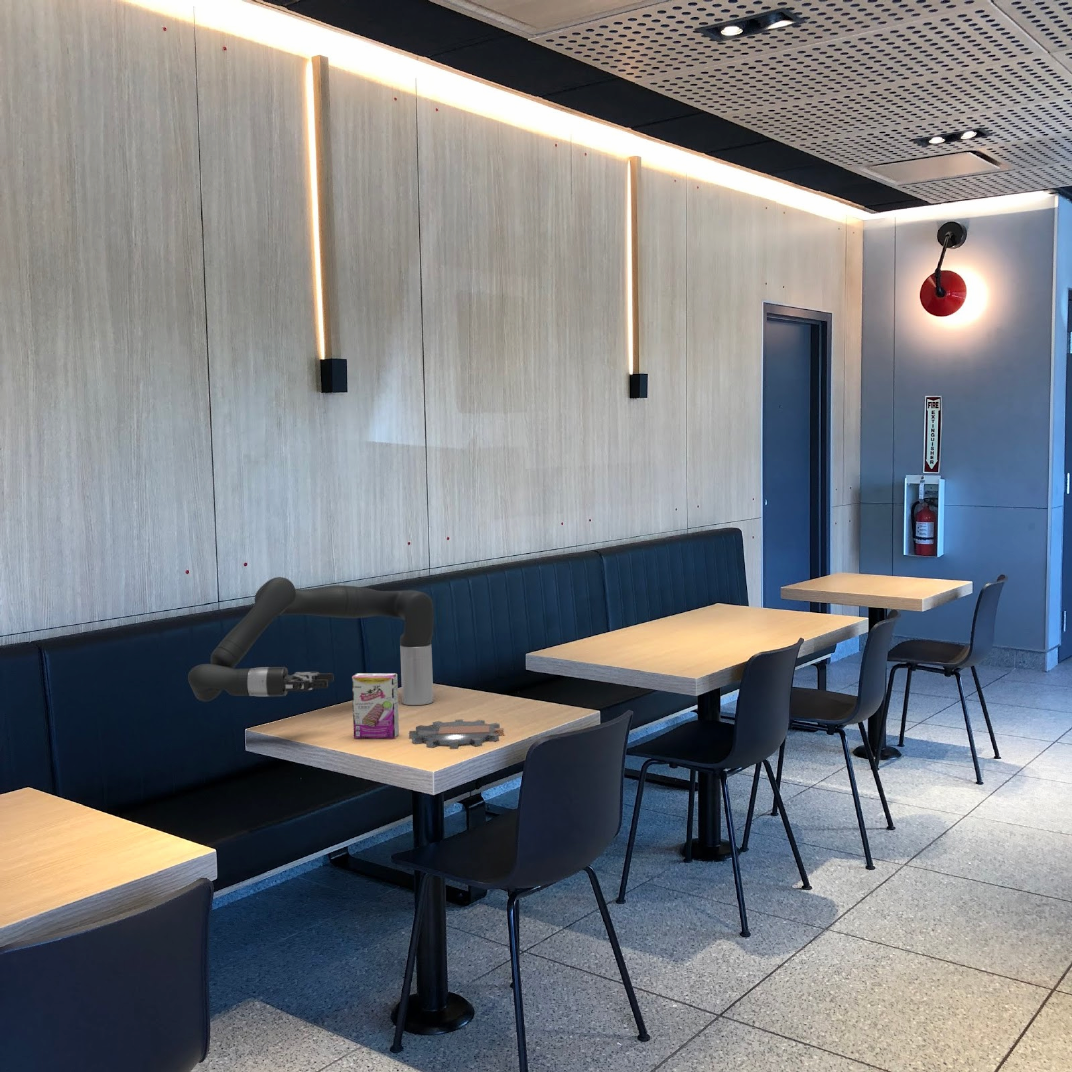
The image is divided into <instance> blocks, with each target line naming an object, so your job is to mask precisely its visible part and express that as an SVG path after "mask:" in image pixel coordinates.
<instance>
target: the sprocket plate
mask: <svg viewBox="0 0 1072 1072" xmlns="http://www.w3.org/2000/svg"><path fill="white" fill-rule="evenodd" d="M485 721H486V720H483V719H477V720H475V721H472V720H471V721H470V720H469V721H465V720H464V719H460V718H459V719H455V720H454V721H445V722H443V721H440V720H438V721H432V724H430V725H423V724H420V725H419V724H418V726H415V730H409V731H408V739H409V740H410V739H411V743H412V744H414V745H418V744H426V748H432V749H434V748H436V747H439V746H440V747H449V749H459V747H460V746H461V747H462V746H473V747H479V746H483V743H485V742H492V741H494V742H497V741H496V740H498V741H499V740H500V736H499V735H505V733H504V732H505V730H504V729H505V728H504V727H501V726H500V725H501V724H500V723H497V722H493V723H486V722H485ZM487 740H488V741H487ZM494 742H493V743H494Z"/></svg>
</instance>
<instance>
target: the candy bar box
mask: <svg viewBox="0 0 1072 1072" xmlns="http://www.w3.org/2000/svg"><path fill="white" fill-rule="evenodd" d="M351 683H352V684H351V685H352V686H351V687H352V692H351V693H352V717H353V718H352V719H353V722H352V723H353V724H352V725H353V739H396V738H397V737H398V735H399V734H400V726H399V722H400V721H399V693H398V691H399V690H398V689H399V688H398V687H399V686H398V684H399V683H398V674H397V673H367V672H365V673H361V672H360V673H355V674H354V675H352V676H351Z"/></svg>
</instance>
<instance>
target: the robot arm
mask: <svg viewBox="0 0 1072 1072" xmlns="http://www.w3.org/2000/svg"><path fill="white" fill-rule="evenodd" d="M287 615H288V616H289V615H308V616H320V617H329V618H343V619H344V618H345V619H360V618H361V619H362V618H370V617H387V618H389V617H390V618H394V619H400V620H404V629H403V630H404V632H403V634H401V635H400V638H399V645H400V646H399V648H400V649H399V650H400V672H401V673H400V677H401V678H400V679H401V703H402V704H403V705H406V706H422V705H428V704H431V703H433V702H434V683H433V681H434V680H433V678H434V677H433V654H432V653H433V652H432V651H433V650H432V638H433V635H434V625H435V624H434V623H435V620H434V615H435V613H434V604H433V600H432V598H431V597H430V595H429V594H427V593H425V592H423V591H420V590H419V591H418V590H414V589H412V590H411V589H407V590H406V589H405V590H388V591H386V590H385V591H384V590H376V589H374V588H373V589H372V588H369V587H362V586H355V585H354V586H353V585H341V584H340V585H339V584H338V585H335V584H333V585H325V586H317V587H313V588H305V589H304V588H303V589H302V588H296V587H295V585H294V583H293V582H292V581H291V580H290V579H288V578H286V577H282V576H277V577H273V578H271V579H269V580H267V581H266V582H265V583H263V584H262V585H261V586H260V587H259V588H258V590H257V591H256V593H255V596H254V605H253V606H252V608H251V609H250V610H249V612H248V613H247V614H246V615H245V616H244V617H242V619H241V620H240V621H239V622H238V623H237V624H236V625H235V626H234V627H233V628H232V629H231V630H230V631H229V632H228V633H227V635H226V636H224V638H223V639H222V640H221V642H219V644H218V645H217V646H216V648H215V649H214V650H213V651H212V652H211V655H210V663H203V664H198V665H196V666H194V667H193V668H191V670H190V671H189V672H188V674H187V680H188V684H189V685H190V688H191V690H192V692H193V694H194V696H195V698H196V699H197V700H198V701H201V702H209V701H213V700H215V698H217V697H218V696H219V695H220V694H221V693H222V691H223V690H224V691H225V692H227V693H228V695H230V696H234V697H235V696H236V697H241V696H242V697H246V696H249V697H253V696H254V697H286V695H288V693H289V692H309V691H311V690H313V689H314V690H317V689H320V690H321V689H323V690H324V689H325V690H326V689H328V687H329V683H333V682H334V681H335V677H334V676H335V675H334V673H330V672H329V673H320V672H318V671H315V670H314V671H296V672H294V674H291V675H290V674H289V670H288V668H287V667H285V666H278V667H277V666H273V667H271V666H269V667H268V666H265V667H263V666H262V667H254V668H236V666H237V665H238V664H239V663H240V661H241V660H242V659H243V658H244V657H245V656H246V654H247V653H248V652H249V650H250V649H251V648H252V646H253V645H254V644H255V643H256V641H257V639H258V638H259V637H260V636H261V635H262V634H263V632H264V631H265V629H267V627H268V626H269V625H270V624H271V622H273V621H274V619H276V618H277V617H278V616H287Z"/></svg>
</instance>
